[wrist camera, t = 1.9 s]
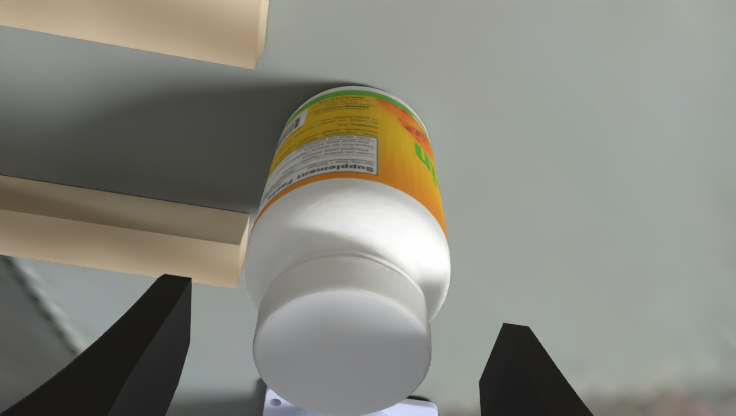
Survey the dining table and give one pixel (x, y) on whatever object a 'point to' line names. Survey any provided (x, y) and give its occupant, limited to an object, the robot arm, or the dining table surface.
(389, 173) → the supplement bottle
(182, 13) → the slide channel
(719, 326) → the dining table surface
